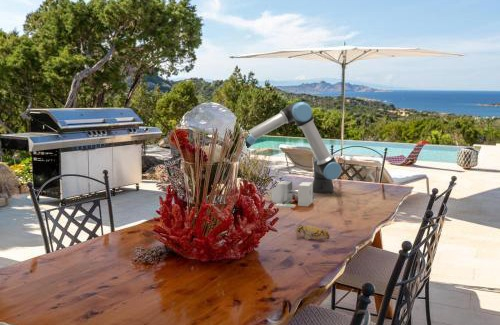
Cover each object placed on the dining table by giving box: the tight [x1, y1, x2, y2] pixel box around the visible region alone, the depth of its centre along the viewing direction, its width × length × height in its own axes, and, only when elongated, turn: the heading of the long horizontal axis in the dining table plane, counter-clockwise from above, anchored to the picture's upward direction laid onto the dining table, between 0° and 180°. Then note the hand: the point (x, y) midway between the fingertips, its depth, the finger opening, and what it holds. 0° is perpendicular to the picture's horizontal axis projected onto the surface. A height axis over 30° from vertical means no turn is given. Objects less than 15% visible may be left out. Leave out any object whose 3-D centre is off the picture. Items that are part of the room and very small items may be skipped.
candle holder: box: [270, 180, 288, 204], centre depth 279 cm, size 10×10×12 cm
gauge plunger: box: [281, 180, 298, 204], centre depth 273 cm, size 10×18×12 cm, turn 161°
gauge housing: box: [274, 181, 314, 209], centre depth 273 cm, size 18×18×12 cm
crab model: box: [295, 224, 331, 242], centre depth 207 cm, size 16×13×6 cm
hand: (269, 193), depth 281 cm, fingers closed
